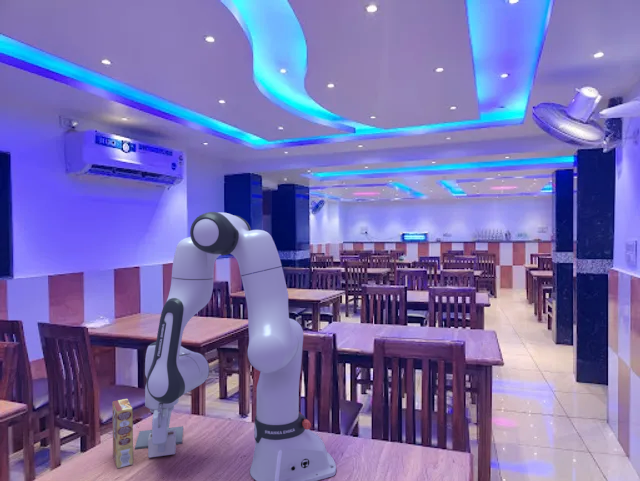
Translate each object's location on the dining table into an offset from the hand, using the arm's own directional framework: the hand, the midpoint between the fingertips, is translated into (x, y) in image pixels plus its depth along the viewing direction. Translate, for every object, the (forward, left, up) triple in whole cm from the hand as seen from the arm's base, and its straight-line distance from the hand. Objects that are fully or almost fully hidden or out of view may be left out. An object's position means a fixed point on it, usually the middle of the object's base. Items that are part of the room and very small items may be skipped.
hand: (162, 446), depth 120 cm
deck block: (0, 0, -2) cm, 2 cm away
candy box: (+10, 0, -3) cm, 11 cm away
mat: (+1, -11, -2) cm, 11 cm away
